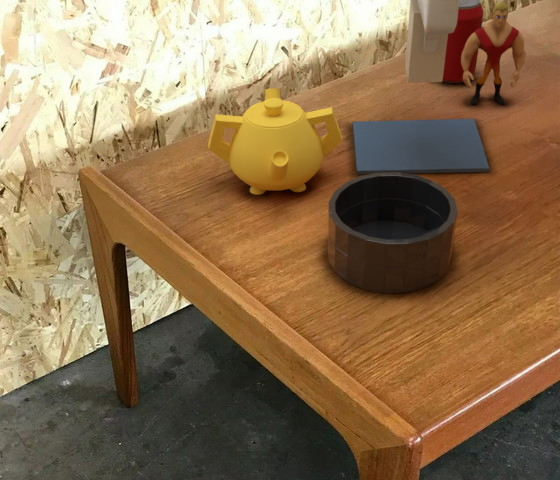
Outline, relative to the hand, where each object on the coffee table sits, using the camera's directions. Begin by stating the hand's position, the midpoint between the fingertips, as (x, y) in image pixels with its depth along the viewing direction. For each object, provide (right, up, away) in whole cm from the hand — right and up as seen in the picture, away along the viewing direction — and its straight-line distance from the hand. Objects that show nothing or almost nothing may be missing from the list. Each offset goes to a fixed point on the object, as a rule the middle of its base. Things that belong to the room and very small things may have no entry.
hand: (427, 41), depth 103 cm
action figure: (+13, -1, +20) cm, 24 cm away
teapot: (-20, -16, +7) cm, 26 cm away
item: (0, -3, +3) cm, 5 cm away
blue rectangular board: (+1, -11, +11) cm, 15 cm away
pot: (-6, -29, -7) cm, 30 cm away
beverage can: (+9, +5, +27) cm, 29 cm away
